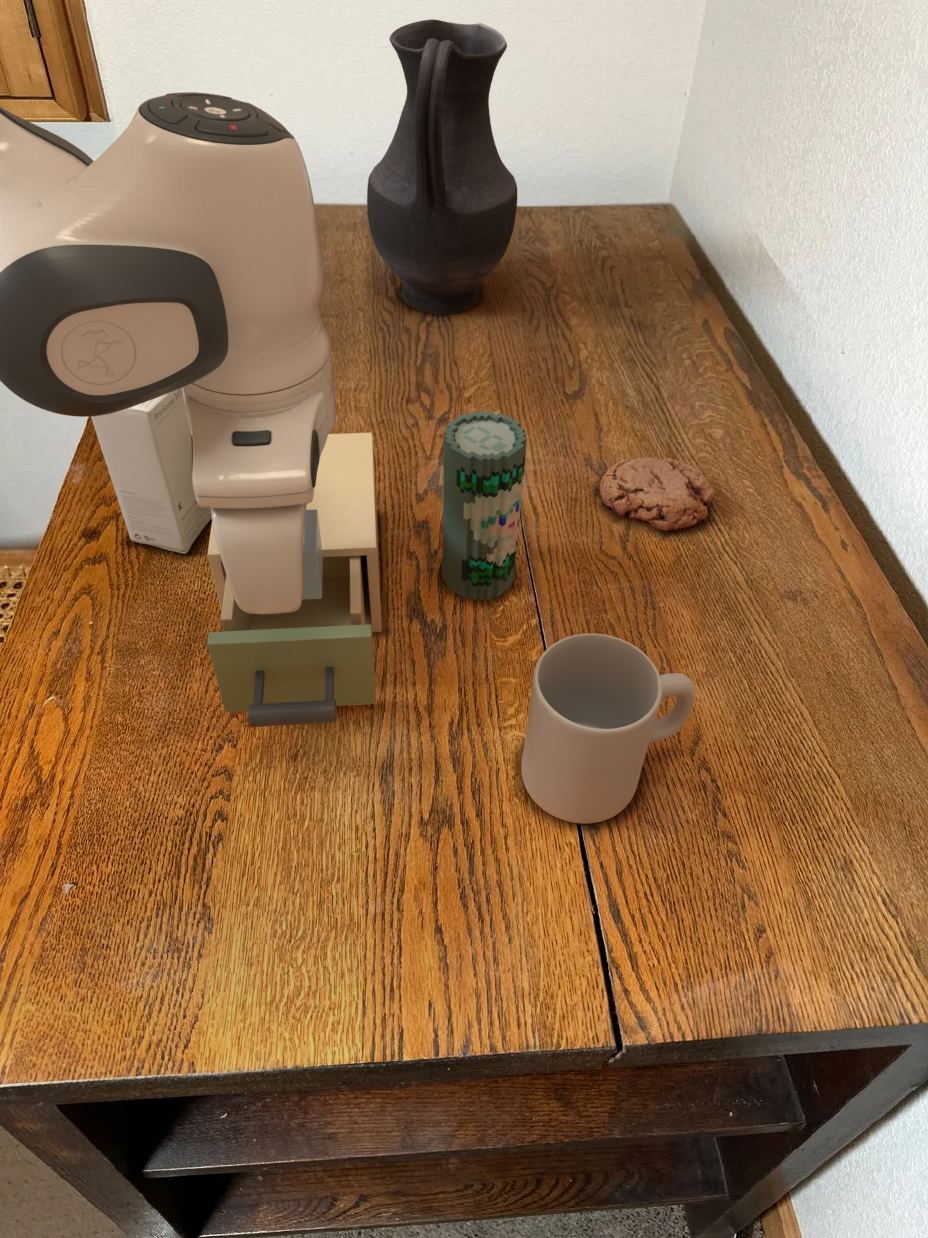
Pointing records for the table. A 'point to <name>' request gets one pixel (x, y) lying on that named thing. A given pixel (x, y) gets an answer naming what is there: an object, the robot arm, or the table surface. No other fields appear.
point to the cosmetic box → (153, 471)
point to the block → (312, 557)
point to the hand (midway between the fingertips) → (287, 562)
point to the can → (481, 502)
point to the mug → (595, 725)
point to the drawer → (298, 653)
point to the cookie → (657, 492)
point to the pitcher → (443, 169)
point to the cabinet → (339, 514)
